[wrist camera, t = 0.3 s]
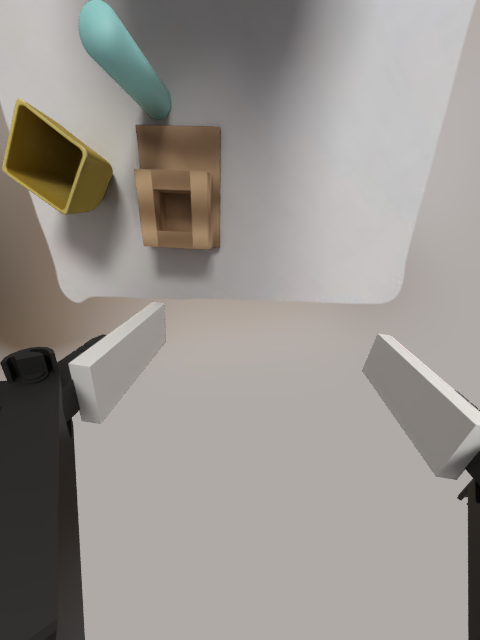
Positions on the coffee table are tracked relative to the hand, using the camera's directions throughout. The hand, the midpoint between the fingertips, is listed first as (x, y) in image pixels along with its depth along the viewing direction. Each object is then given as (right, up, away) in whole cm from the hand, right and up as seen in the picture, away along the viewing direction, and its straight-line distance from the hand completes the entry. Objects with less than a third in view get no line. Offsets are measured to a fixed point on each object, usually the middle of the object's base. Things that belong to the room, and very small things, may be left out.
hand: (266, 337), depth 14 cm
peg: (-13, +32, +17) cm, 38 cm away
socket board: (-11, +21, +21) cm, 32 cm away
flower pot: (-25, +24, +22) cm, 41 cm away
